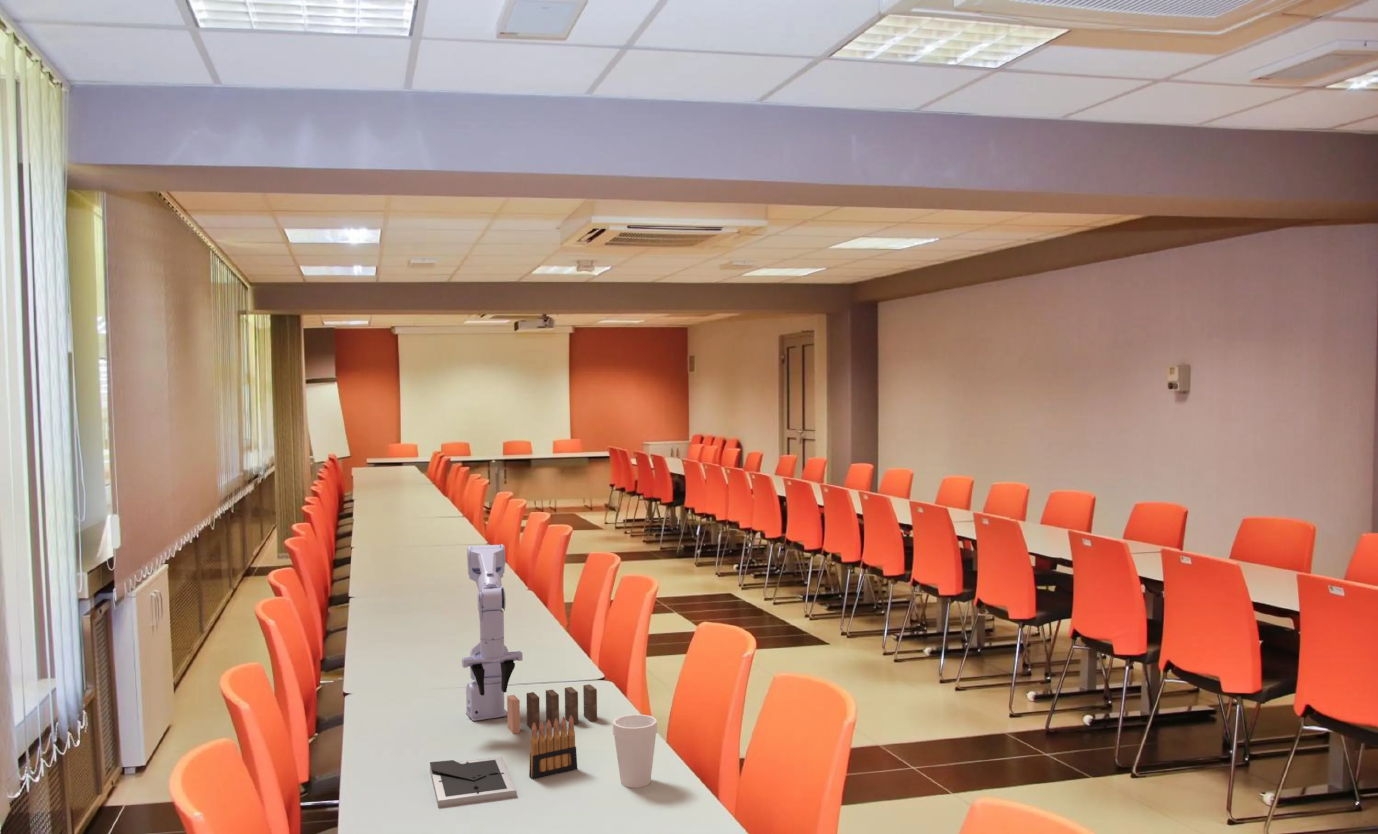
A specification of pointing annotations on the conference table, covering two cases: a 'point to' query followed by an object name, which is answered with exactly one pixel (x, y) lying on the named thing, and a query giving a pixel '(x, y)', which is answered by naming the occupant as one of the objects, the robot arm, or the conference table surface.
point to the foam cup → (635, 748)
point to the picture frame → (471, 781)
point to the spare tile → (513, 714)
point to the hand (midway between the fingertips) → (493, 692)
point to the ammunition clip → (552, 749)
